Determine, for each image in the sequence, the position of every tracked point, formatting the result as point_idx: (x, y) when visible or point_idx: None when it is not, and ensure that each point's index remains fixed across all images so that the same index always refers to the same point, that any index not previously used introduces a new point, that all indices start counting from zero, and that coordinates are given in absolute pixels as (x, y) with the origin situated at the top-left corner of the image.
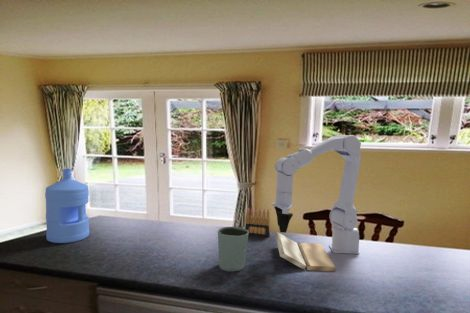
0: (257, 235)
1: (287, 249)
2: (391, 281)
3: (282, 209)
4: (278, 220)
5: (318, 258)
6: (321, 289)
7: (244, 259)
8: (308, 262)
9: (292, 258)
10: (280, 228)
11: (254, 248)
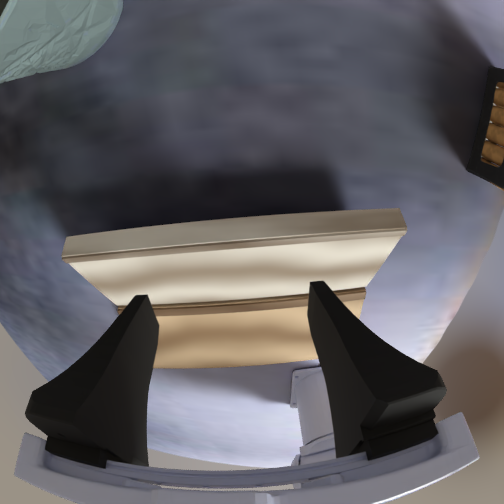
0: (482, 120)
1: (160, 269)
2: (148, 415)
3: (20, 465)
4: (324, 315)
5: (197, 343)
6: (36, 311)
7: (39, 71)
8: None
9: (89, 279)
10: (121, 317)
11: (327, 77)
